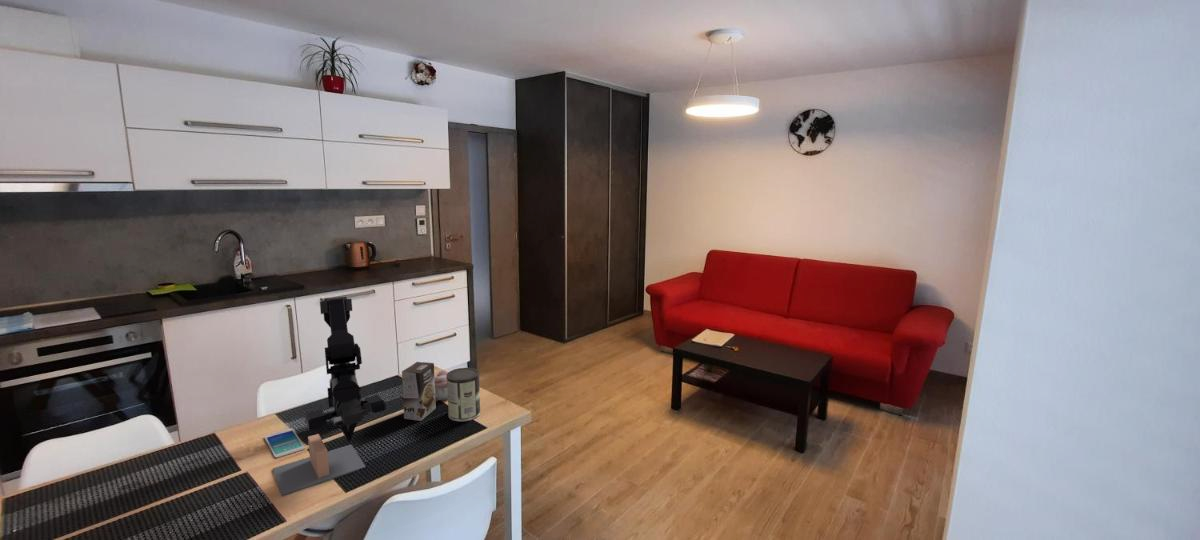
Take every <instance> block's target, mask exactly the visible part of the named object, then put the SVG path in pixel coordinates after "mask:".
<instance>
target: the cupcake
mask: <svg viewBox="0 0 1200 540" xmlns="http://www.w3.org/2000/svg"><path fill="white" fill-rule="evenodd" d="M448 372H449V371H448V370H446V369H443V370H440V371H438V373H437V374H436V375H434V379H435V400H438V401H444V400H445V401H448V392H447V378H446V375H447V373H448Z"/></svg>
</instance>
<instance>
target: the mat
mask: <svg viewBox="0 0 1200 540" xmlns="http://www.w3.org/2000/svg"><path fill="white" fill-rule="evenodd" d="M327 453H328V464H329V475H327V476H324V477H321V478H318V476H317V474H316V472H315V470H314V468H313V465H312V463H311V461H310V456H309V457H305V458H302V459H299V460H296V461H292V462H288V463H286V464H282V465H279V466H275V467H273V468H272V472H273V475H274V477H275V481H276V483H277V487H278V491H279V493H280V497H284V496H286V495H289V494H293V493H296V492H299V491H301V490H304V489H307V488H308V489H309V488H310V487H314V486H317V485H319V484H322V483H325V482H328V481H331V480H334V479H336V478H340V477H343V476H345V475H349V474H352V473H354V472H357V471H361V470H363V468H364V469H366V467H367V466H366V464H365V462H363V460H362V458H361V457H360V456H359V454H358V452H357V450H356V449H355V447H354V446H353V445H352V444H348V445H344V446H342V447H338V448H335V449H331V450H329V451H328V450H327ZM360 469H361V470H360Z"/></svg>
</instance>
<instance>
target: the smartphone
mask: <svg viewBox="0 0 1200 540" xmlns="http://www.w3.org/2000/svg"><path fill="white" fill-rule="evenodd" d="M264 440H265V443H266V445H267V446H268V447H269V449H270V451H271V453H272V454H273V455H272V456H273V457H274V458H275V459H280V458H284V457H286V456H290V455H293V454H296V453H299V452H303V451H305V450H306V447H305V444H304V443H303V442H302V440H301V438H300V437H299V436H298V434H297V432H296V431H295V430H294V428H291V427H290V428H287V429H284V430H280V431H277V432H274V433H270V434H266V435H265V436H264Z"/></svg>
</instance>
